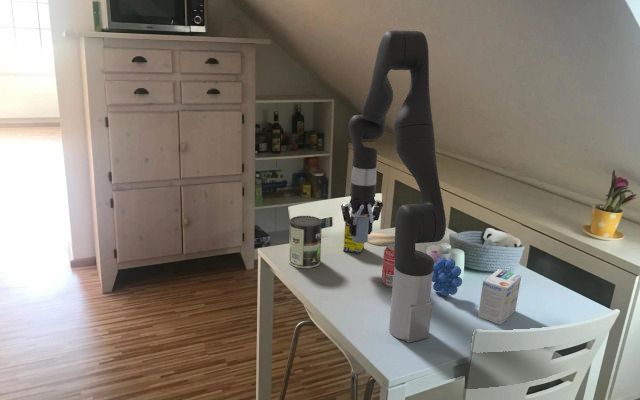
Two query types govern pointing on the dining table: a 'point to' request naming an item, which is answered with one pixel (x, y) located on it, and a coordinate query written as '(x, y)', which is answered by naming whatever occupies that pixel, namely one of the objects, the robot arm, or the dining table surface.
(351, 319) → the dining table surface
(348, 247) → the supplement box
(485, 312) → the light bulb box
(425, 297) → the robot arm
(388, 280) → the soda can
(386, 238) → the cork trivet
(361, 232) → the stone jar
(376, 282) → the dining table surface
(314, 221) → the coffee can
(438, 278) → the grapes
